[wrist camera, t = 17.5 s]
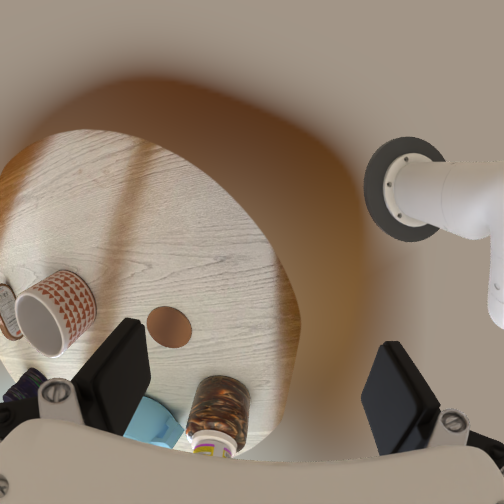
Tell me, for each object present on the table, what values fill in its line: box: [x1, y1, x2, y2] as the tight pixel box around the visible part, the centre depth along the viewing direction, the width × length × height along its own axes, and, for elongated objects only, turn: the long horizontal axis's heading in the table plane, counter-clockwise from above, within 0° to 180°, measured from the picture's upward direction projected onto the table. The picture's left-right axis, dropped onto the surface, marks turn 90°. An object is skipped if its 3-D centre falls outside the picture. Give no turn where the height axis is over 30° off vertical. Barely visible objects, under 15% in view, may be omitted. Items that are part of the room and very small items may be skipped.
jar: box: [186, 376, 250, 458], centre depth 48 cm, size 12×12×15 cm
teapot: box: [123, 396, 184, 449], centre depth 53 cm, size 19×19×14 cm
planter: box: [15, 270, 96, 358], centre depth 45 cm, size 14×14×13 cm
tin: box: [0, 283, 24, 341], centre depth 50 cm, size 15×3×8 cm, turn 15°
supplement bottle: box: [193, 440, 232, 458], centre depth 35 cm, size 7×7×13 cm
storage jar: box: [3, 368, 47, 402], centre depth 53 cm, size 10×10×15 cm
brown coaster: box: [147, 306, 192, 348], centre depth 51 cm, size 9×9×1 cm
